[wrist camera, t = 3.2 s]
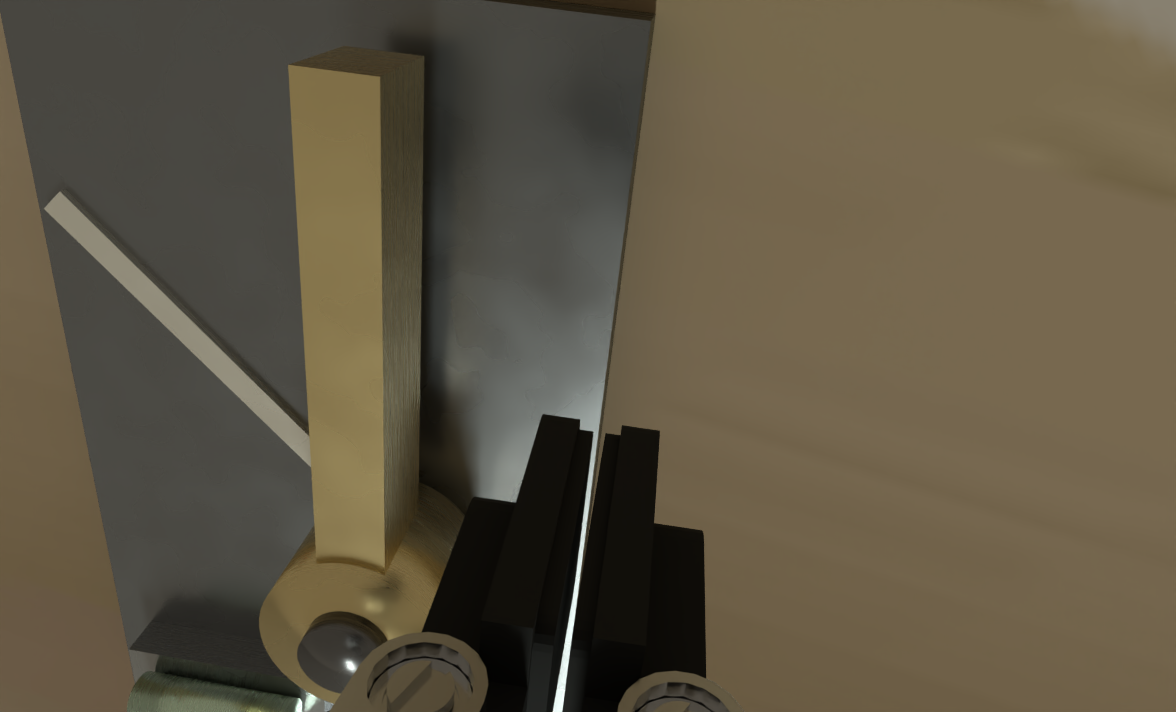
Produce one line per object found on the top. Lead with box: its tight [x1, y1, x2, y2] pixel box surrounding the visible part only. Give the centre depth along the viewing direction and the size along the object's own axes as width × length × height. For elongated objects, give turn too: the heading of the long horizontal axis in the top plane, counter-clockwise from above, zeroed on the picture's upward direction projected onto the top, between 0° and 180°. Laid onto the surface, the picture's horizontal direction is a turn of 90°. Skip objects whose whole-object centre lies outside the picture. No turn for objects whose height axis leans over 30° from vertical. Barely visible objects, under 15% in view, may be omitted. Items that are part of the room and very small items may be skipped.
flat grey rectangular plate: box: [0, 0, 655, 712], centre depth 22 cm, size 14×23×4 cm, turn 174°
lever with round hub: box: [259, 46, 465, 704], centre depth 19 cm, size 4×15×4 cm, turn 174°
